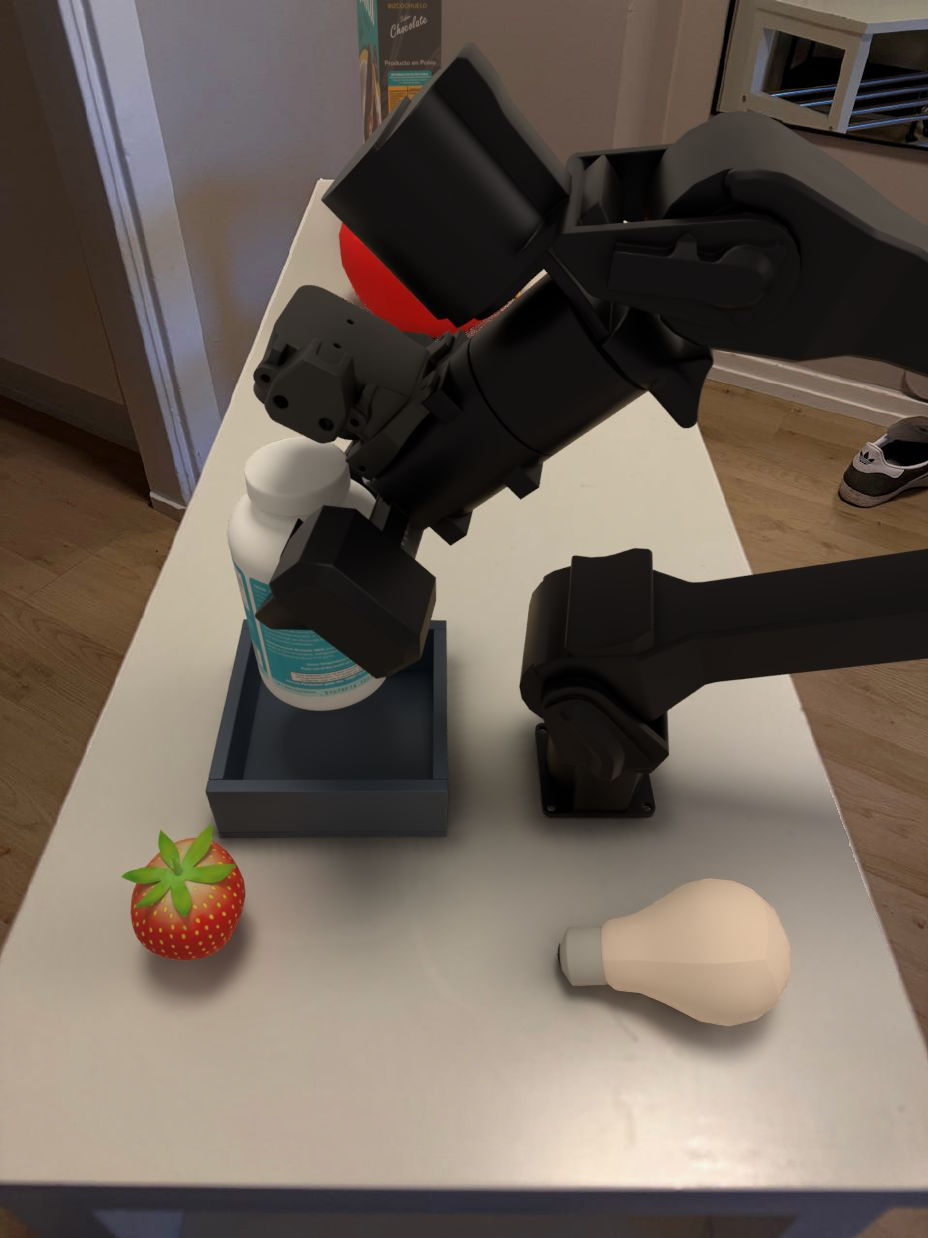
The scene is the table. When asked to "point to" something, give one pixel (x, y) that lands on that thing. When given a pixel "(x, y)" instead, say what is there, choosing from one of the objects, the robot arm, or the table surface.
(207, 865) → the fruit
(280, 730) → the bin
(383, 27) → the cake mix box
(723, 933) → the light bulb
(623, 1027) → the table surface
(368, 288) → the vase
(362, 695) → the pill bottle
